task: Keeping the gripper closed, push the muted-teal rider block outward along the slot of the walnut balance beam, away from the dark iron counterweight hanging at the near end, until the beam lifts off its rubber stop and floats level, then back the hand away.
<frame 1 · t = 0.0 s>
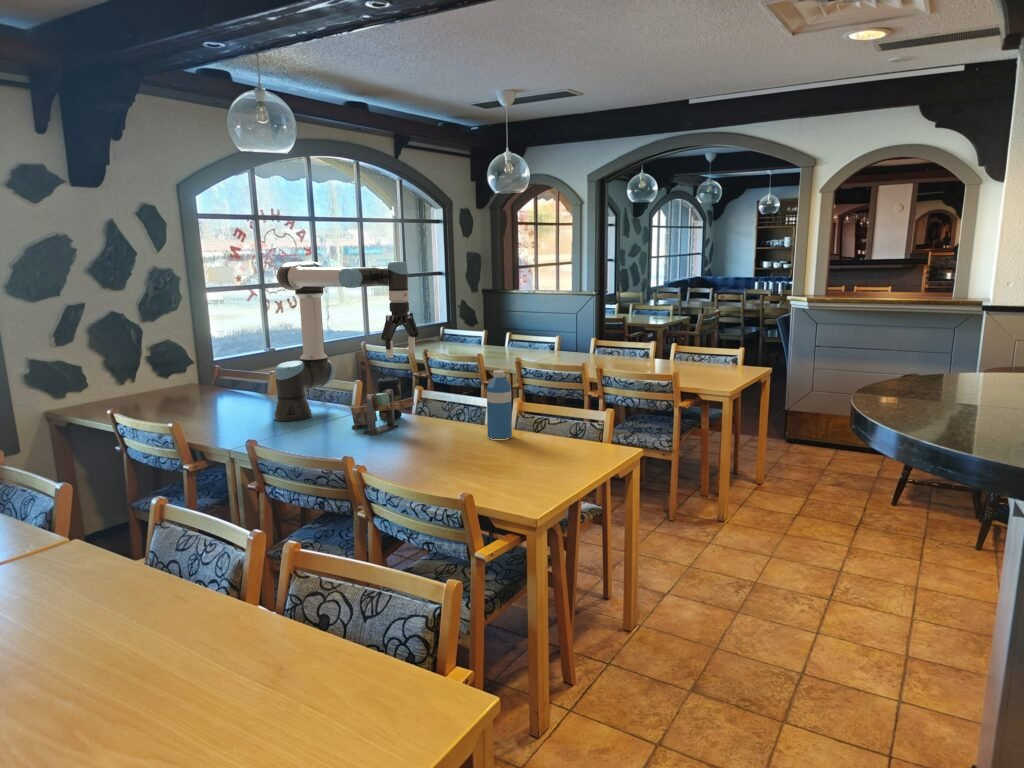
hand: (401, 355, 269), 28 cm above the table, fingers open, 13 cm apart
pivot frame: (381, 430, 265), on the table
beam: (382, 407, 263), point 9 cm above the table, hinge at -10.0°, touching rider
water bottle: (499, 437, 253), on the table
rider: (381, 406, 263), point 9 cm above the table, tilted 10°, touching beam
stop pad: (361, 427, 270), on the table
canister: (390, 418, 284), on the table
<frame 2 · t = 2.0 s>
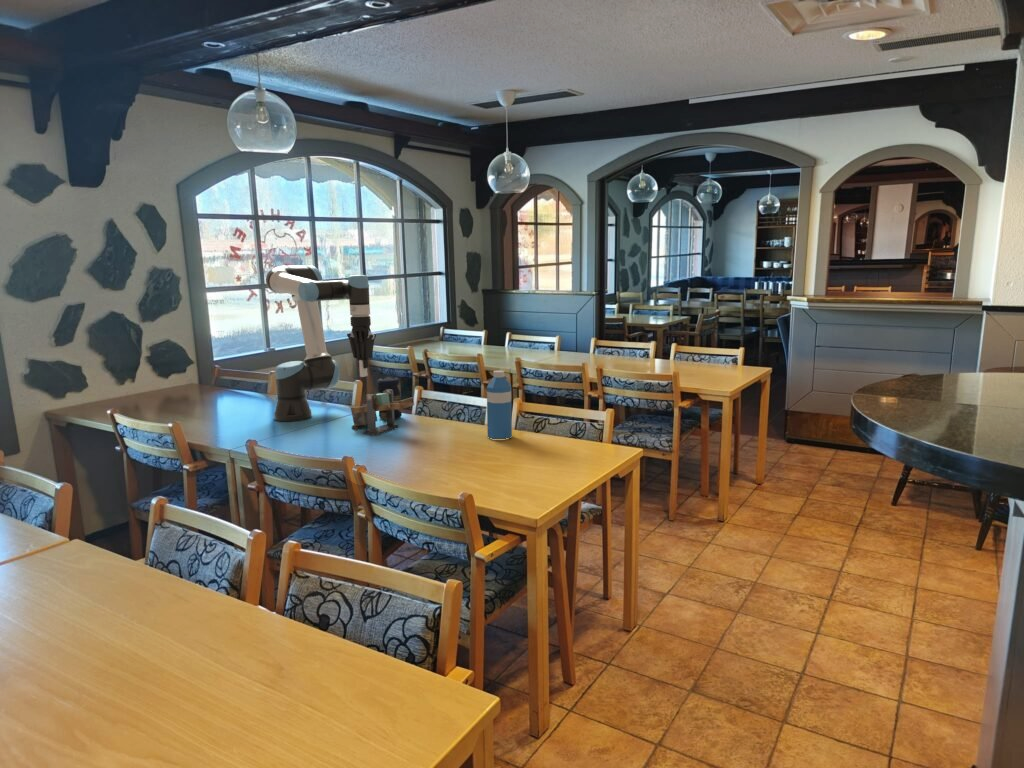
hand: (363, 376, 265), 21 cm above the table, fingers closed
nothing on the table moved.
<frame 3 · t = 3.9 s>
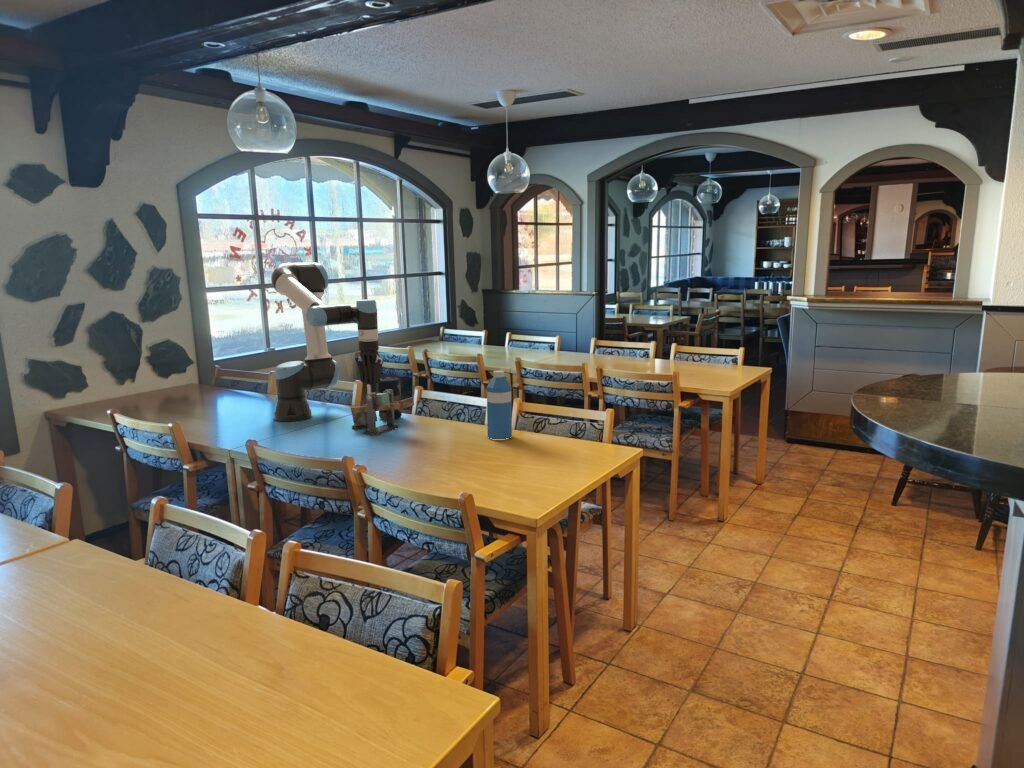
hand: (371, 400, 265), 12 cm above the table, fingers closed
rider: (381, 406, 263), point 9 cm above the table, tilted 10°, touching beam, gripper
everything else where it was.
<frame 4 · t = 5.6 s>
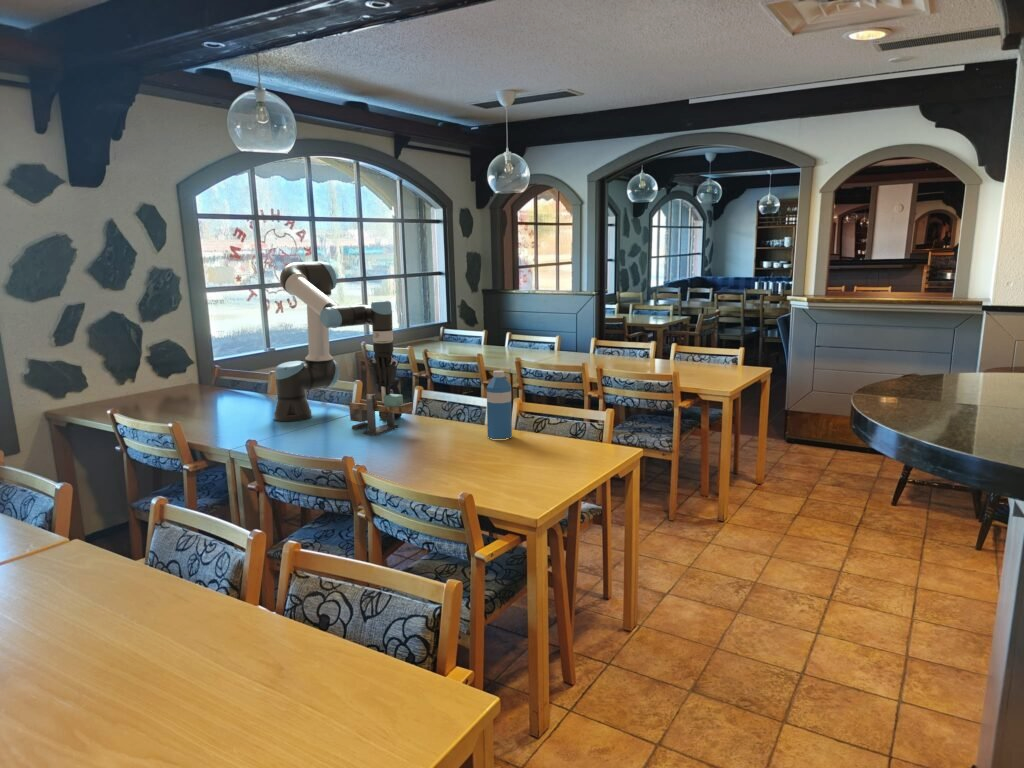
hand: (385, 402, 261), 11 cm above the table, fingers closed
beam: (380, 407, 263), point 9 cm above the table, hinge at -1.4°, touching rider
rider: (393, 408, 260), point 10 cm above the table, touching beam, gripper
everything else where it was.
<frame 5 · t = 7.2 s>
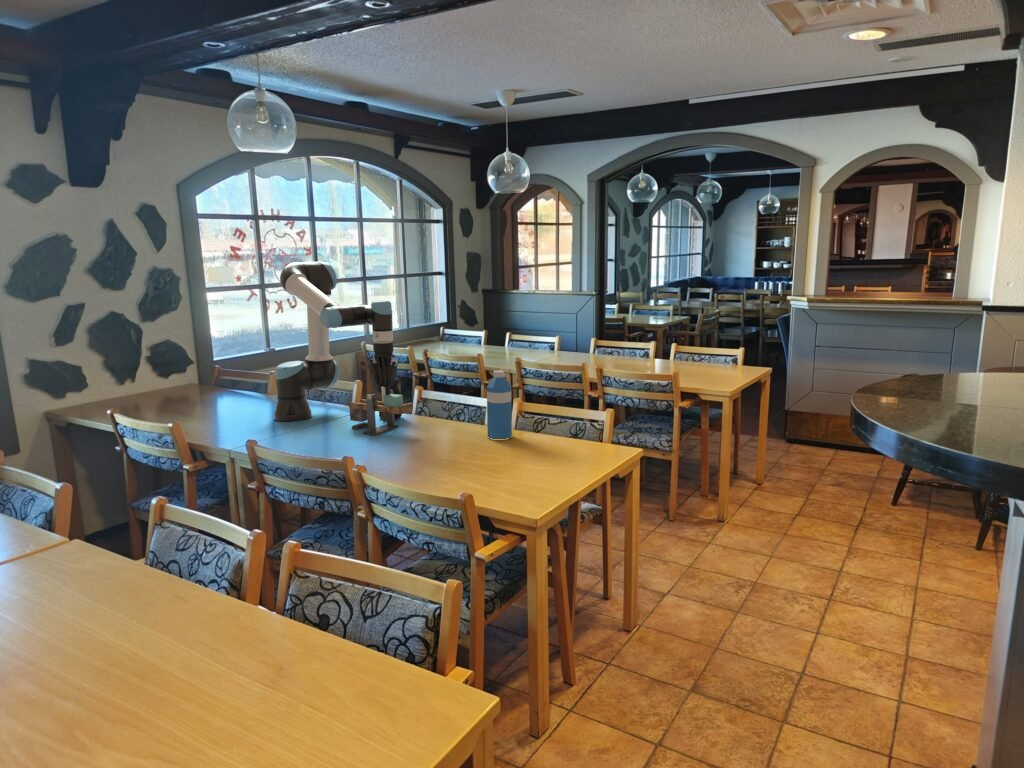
hand: (385, 402, 261), 11 cm above the table, fingers closed
beam: (380, 407, 263), point 9 cm above the table, hinge at -0.7°, touching rider
everything else where it was.
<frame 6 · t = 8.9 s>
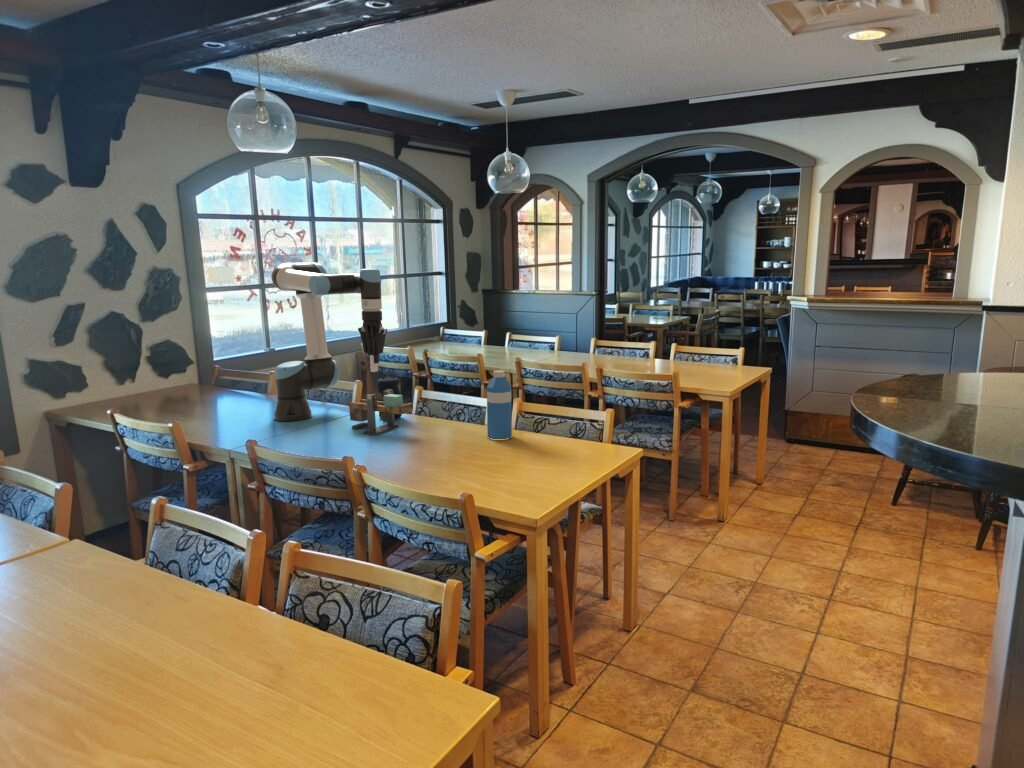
hand: (374, 371, 262), 23 cm above the table, fingers closed
rider: (393, 408, 260), point 10 cm above the table, touching beam
everything else where it was.
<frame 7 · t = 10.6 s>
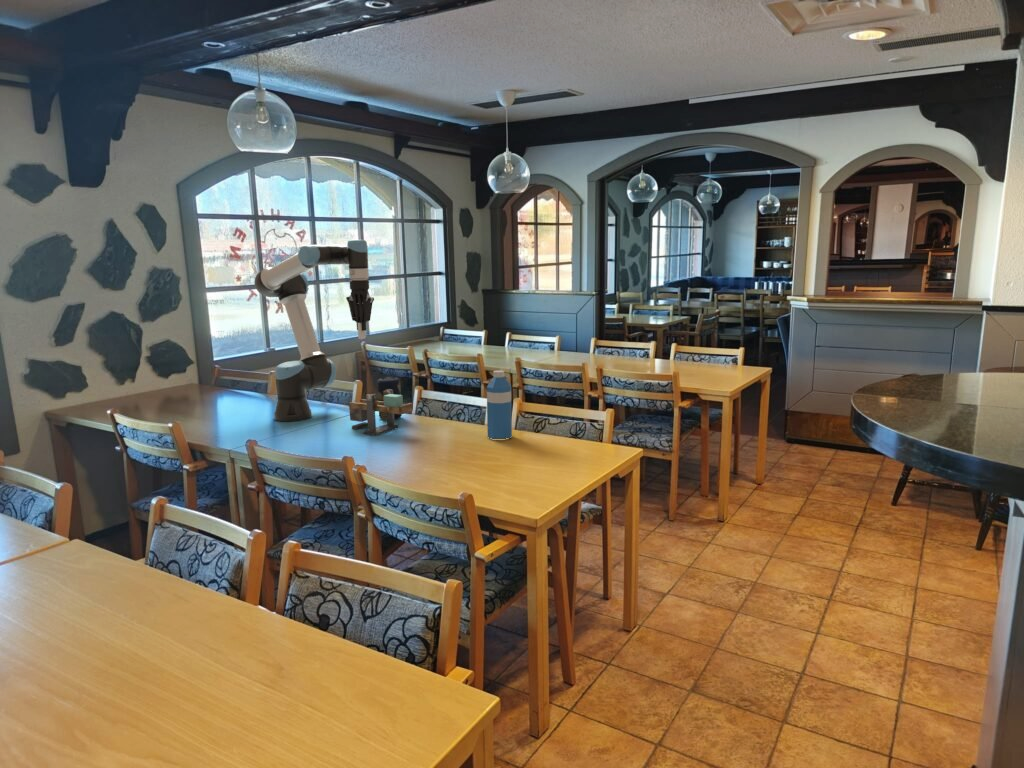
hand: (362, 338, 274), 34 cm above the table, fingers closed
nothing on the table moved.
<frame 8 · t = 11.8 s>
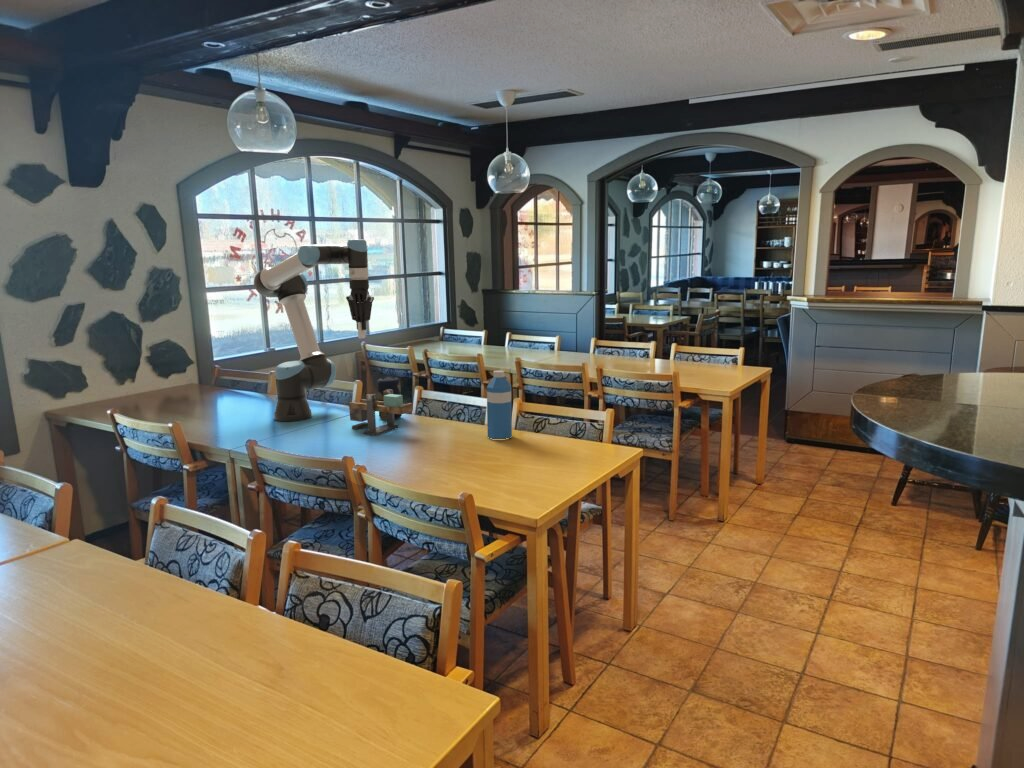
hand: (362, 338, 274), 34 cm above the table, fingers closed
nothing on the table moved.
at the end: beam at +0° (first picture: -10°); rider inside the target area under the beam (0.0 cm from its centre), point -4.4 cm above the beam's base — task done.
